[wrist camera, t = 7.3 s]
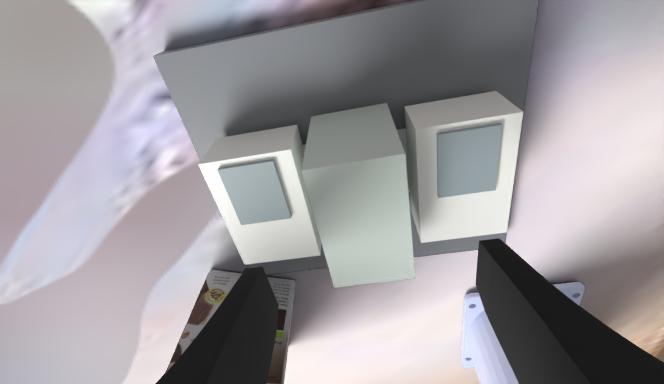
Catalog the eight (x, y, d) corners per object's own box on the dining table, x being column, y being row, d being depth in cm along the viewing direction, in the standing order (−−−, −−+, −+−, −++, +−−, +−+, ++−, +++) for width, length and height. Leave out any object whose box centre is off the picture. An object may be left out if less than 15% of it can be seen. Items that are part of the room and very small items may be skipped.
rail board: (498, 235, 21) (529, 288, 18) (256, 265, 23) (241, 318, 19) (529, -24, 13) (596, -21, 10) (163, 51, 15) (111, 75, 12)
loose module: (397, 208, 18) (415, 278, 14) (335, 217, 19) (334, 287, 15) (386, 102, 15) (405, 153, 11) (311, 116, 15) (301, 170, 11)
